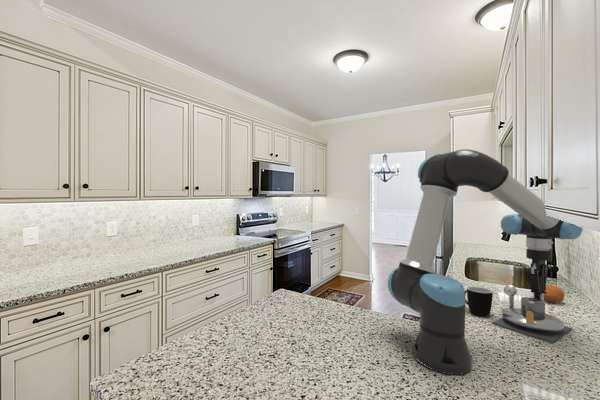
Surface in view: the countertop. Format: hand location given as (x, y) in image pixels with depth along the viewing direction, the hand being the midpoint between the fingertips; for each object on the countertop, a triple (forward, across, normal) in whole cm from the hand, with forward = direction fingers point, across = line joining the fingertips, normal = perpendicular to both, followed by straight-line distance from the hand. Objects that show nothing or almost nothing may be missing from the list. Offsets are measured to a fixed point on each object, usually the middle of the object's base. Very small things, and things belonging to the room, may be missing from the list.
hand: (538, 309), depth 111 cm
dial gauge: (+5, +3, +10) cm, 11 cm away
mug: (+5, -10, +18) cm, 21 cm away
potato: (+5, +36, +6) cm, 37 cm away
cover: (+1, -6, 0) cm, 6 cm away
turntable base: (+5, -7, 0) cm, 9 cm away
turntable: (+3, -7, 0) cm, 8 cm away
